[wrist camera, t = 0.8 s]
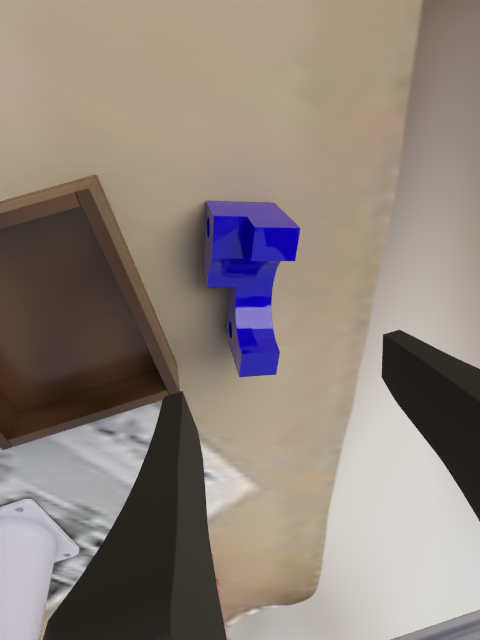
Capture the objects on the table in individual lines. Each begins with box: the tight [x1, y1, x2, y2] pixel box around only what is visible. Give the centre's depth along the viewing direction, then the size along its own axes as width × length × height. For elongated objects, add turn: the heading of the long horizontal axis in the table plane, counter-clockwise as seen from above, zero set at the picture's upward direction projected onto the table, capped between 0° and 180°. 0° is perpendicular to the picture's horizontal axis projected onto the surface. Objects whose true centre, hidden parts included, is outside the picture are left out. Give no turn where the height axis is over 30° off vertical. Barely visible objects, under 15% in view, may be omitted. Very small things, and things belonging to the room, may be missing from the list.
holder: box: [0, 175, 180, 450], centre depth 19 cm, size 10×12×3 cm
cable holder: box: [204, 201, 300, 377], centre depth 19 cm, size 8×4×4 cm, turn 175°
